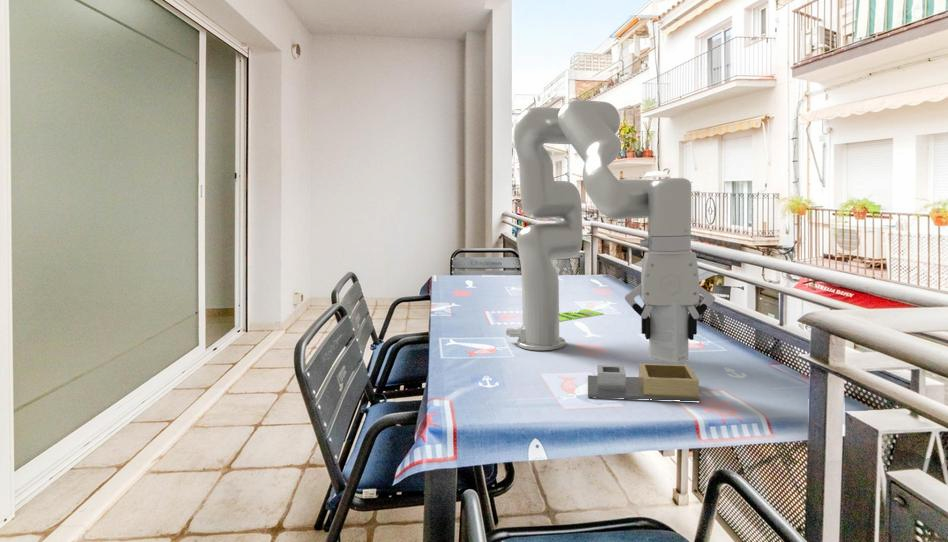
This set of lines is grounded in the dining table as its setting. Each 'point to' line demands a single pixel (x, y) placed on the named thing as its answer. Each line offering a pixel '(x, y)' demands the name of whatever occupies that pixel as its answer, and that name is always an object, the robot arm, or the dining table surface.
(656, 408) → the dining table surface
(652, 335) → the skincare box
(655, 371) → the plate
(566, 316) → the door hanger
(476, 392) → the dining table surface
